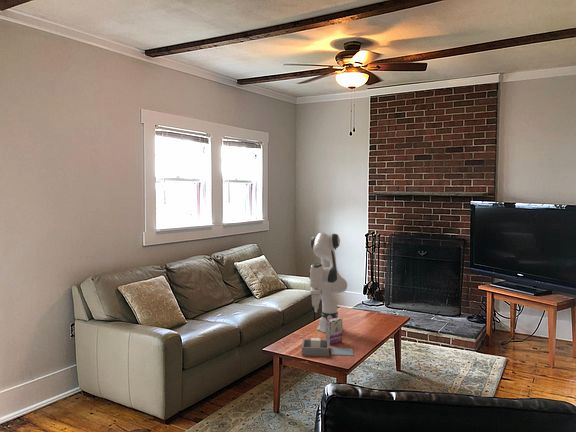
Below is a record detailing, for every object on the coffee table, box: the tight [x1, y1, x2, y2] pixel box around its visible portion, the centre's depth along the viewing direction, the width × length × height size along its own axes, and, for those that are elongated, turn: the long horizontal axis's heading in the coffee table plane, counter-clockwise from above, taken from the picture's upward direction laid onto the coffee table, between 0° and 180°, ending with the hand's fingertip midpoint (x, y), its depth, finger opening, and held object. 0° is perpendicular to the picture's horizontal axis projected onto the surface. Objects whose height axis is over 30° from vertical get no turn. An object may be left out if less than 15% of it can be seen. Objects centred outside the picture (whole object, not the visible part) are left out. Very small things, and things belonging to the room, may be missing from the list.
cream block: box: [310, 337, 321, 348], centre depth 291 cm, size 4×6×8 cm
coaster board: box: [330, 347, 354, 357], centre depth 291 cm, size 12×14×1 cm
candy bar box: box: [325, 316, 343, 346], centre depth 308 cm, size 11×5×16 cm, turn 126°
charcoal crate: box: [301, 338, 330, 357], centre depth 292 cm, size 16×17×5 cm
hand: (316, 310), depth 291 cm, fingers open, 8 cm apart
